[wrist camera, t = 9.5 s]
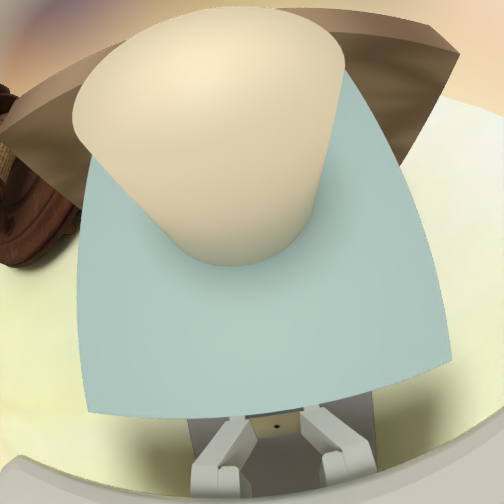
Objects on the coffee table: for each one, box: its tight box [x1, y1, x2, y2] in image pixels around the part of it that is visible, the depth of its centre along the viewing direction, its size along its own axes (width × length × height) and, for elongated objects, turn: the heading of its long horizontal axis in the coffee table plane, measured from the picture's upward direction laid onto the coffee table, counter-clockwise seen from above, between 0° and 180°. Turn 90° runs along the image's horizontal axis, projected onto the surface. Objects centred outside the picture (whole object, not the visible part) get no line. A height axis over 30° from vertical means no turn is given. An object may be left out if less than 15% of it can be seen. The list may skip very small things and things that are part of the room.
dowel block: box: [72, 6, 452, 419], centre depth 8 cm, size 7×8×13 cm
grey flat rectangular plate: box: [187, 391, 377, 497], centre depth 13 cm, size 10×24×1 cm, turn 8°
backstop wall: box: [0, 8, 460, 210], centre depth 11 cm, size 16×2×12 cm, turn 98°
